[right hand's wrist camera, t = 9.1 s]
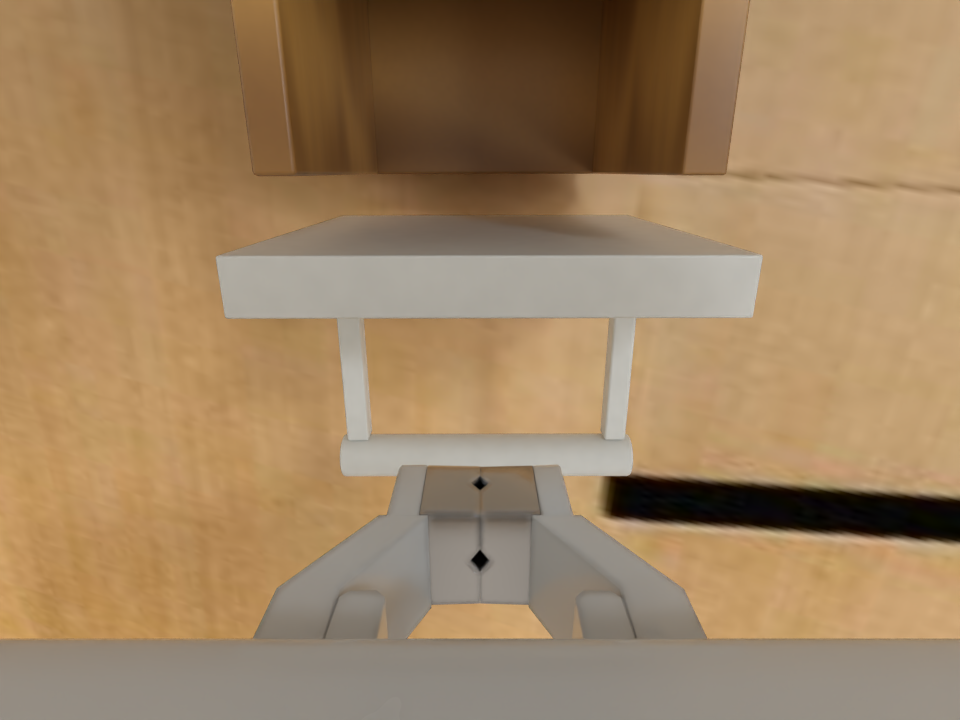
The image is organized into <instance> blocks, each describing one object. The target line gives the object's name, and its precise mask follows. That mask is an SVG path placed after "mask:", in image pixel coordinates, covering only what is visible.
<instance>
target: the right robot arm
mask: <svg viewBox="0 0 960 720" xmlns="http://www.w3.org/2000/svg"><path fill="white" fill-rule="evenodd" d="M474 603H485V604H521V605H529V608H530V609H531V610H532V612H533V613H534V614H535V616H536V617H537V618H538V619H539V621H540V622H541V623H542V625H543V626H544V627H545V628H546V630H547V631H548V632H549V633H550V635H551V636H552V637H553V639H407V638H408V636H409V635H410V634H411V633H412V631H413V630H414V629H415V628H416V626H417V625H418V624H419V622H420V621H421V620H422V619H423V617H424V616H425V615H426V614H427V612H428V611H429V610H430V608H431V605H439V604H474ZM0 720H960V639H707V637H706V635H705V633H704V631H703V629H702V626H701V624H700V622H699V620H698V618H697V616H696V614H695V612H694V610H693V607H692V605H691V603H690V601H689V599H688V597H687V595H686V593H685V590H684V589H683V588H682V587H680V586H679V585H677V584H676V583H675V582H673V581H672V580H670V579H669V578H668V577H666V576H665V575H663V574H662V573H661V572H659V571H658V570H657V569H655V568H654V567H652V566H651V565H650V564H648V563H647V562H645V561H644V560H643V559H641V558H640V557H638V556H637V555H636V554H634V553H633V552H631V551H630V550H629V549H627V548H626V547H624V546H623V545H622V544H620V543H619V542H617V541H616V540H615V539H613V538H612V537H610V536H609V535H608V534H606V533H605V532H604V531H602V530H601V529H599V528H598V527H597V526H595V525H594V524H592V523H591V522H590V521H588V520H587V519H585V518H584V517H583V516H581V515H573V512H572V508H571V505H570V501H569V497H568V493H567V490H566V486H565V482H564V478H563V475H562V471H561V467H560V466H559V465H536V466H493V467H480V466H443V465H429V466H427V465H402V466H401V467H400V468H399V470H398V474H397V478H396V482H395V486H394V489H393V493H392V497H391V501H390V504H389V508H388V512H387V515H379V516H377V517H376V518H375V519H373V520H372V521H370V522H369V523H368V524H366V525H365V526H363V527H362V528H361V529H359V530H358V531H356V532H355V533H354V534H352V535H351V536H349V537H348V538H347V539H345V540H344V541H342V542H341V543H340V544H338V545H337V546H335V547H334V548H333V549H331V550H330V551H328V552H327V553H326V554H324V555H323V556H321V557H320V558H319V559H317V560H316V561H314V562H313V563H312V564H310V565H309V566H307V567H306V568H305V569H303V570H302V571H300V572H299V573H298V574H296V575H295V576H293V577H292V578H291V579H289V580H288V581H286V582H285V583H284V584H282V585H281V586H279V587H278V588H277V589H276V591H275V593H274V595H273V597H272V599H271V602H270V604H269V606H268V608H267V610H266V612H265V614H264V616H263V618H262V620H261V622H260V625H259V627H258V629H257V631H256V633H255V635H254V637H253V639H0Z"/></svg>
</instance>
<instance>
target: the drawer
mask: <svg viewBox="0 0 960 720" xmlns="http://www.w3.org/2000/svg"><path fill="white" fill-rule="evenodd" d="M230 1H231V9H232V17H233V24H234V32H235V40H236V47H237V55H238V62H239V70H240V78H241V85H242V93H243V101H244V108H245V116H246V124H247V131H248V139H249V146H250V154H251V162H252V169H253V173H254V174H255V175H257V176H313V175H355V174H648V175H724V174H726V170H727V163H728V156H729V149H730V141H731V134H732V127H733V120H734V112H735V105H736V98H737V91H738V83H739V76H740V69H741V62H742V54H743V47H744V40H745V33H746V25H747V18H748V11H749V4H750V0H230ZM762 258H763V257H762V255H760V254H757V253H753V252H750V251H747V250H743V249H740V248H737V247H733V246H730V245H727V244H723V243H720V242H716V241H713V240H710V239H706V238H703V237H700V236H696V235H693V234H690V233H686V232H683V231H679V230H676V229H673V228H669V227H666V226H663V225H659V224H656V223H653V222H649V221H646V220H642V219H639V218H636V217H632V216H629V215H394V216H340V217H337V218H334V219H331V220H328V221H324V222H321V223H318V224H315V225H312V226H309V227H306V228H303V229H299V230H296V231H293V232H290V233H287V234H284V235H281V236H278V237H274V238H271V239H268V240H265V241H262V242H259V243H256V244H253V245H249V246H246V247H243V248H240V249H237V250H234V251H231V252H228V253H225V254H221V255H218V256H216V263H217V269H218V276H219V282H220V288H221V295H222V301H223V307H224V313H225V317H226V318H227V319H337V325H338V336H339V347H340V358H341V369H342V380H343V391H344V402H345V413H346V424H347V434H346V435H344V437H343V440H342V443H341V449H340V467H341V471H342V474H343V475H344V476H397V474H398V470H399V468H400V467H401V466H402V465H427V466H429V465H443V466H480V467H493V466H536V465H559V466H560V467H561V471H562V475H563V476H628V475H630V473H631V471H632V466H633V449H632V444H631V440H630V437H629V436H628V435H627V434H625V431H626V420H627V409H628V399H629V388H630V378H631V367H632V357H633V346H634V335H635V325H636V318H751V317H752V316H753V312H754V306H755V300H756V294H757V288H758V282H759V276H760V270H761V264H762ZM385 318H609V328H608V341H607V354H606V366H605V379H604V392H603V405H602V418H601V432H602V434H371V432H372V423H371V410H370V396H369V383H368V369H367V356H366V342H365V329H364V319H385Z"/></svg>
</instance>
